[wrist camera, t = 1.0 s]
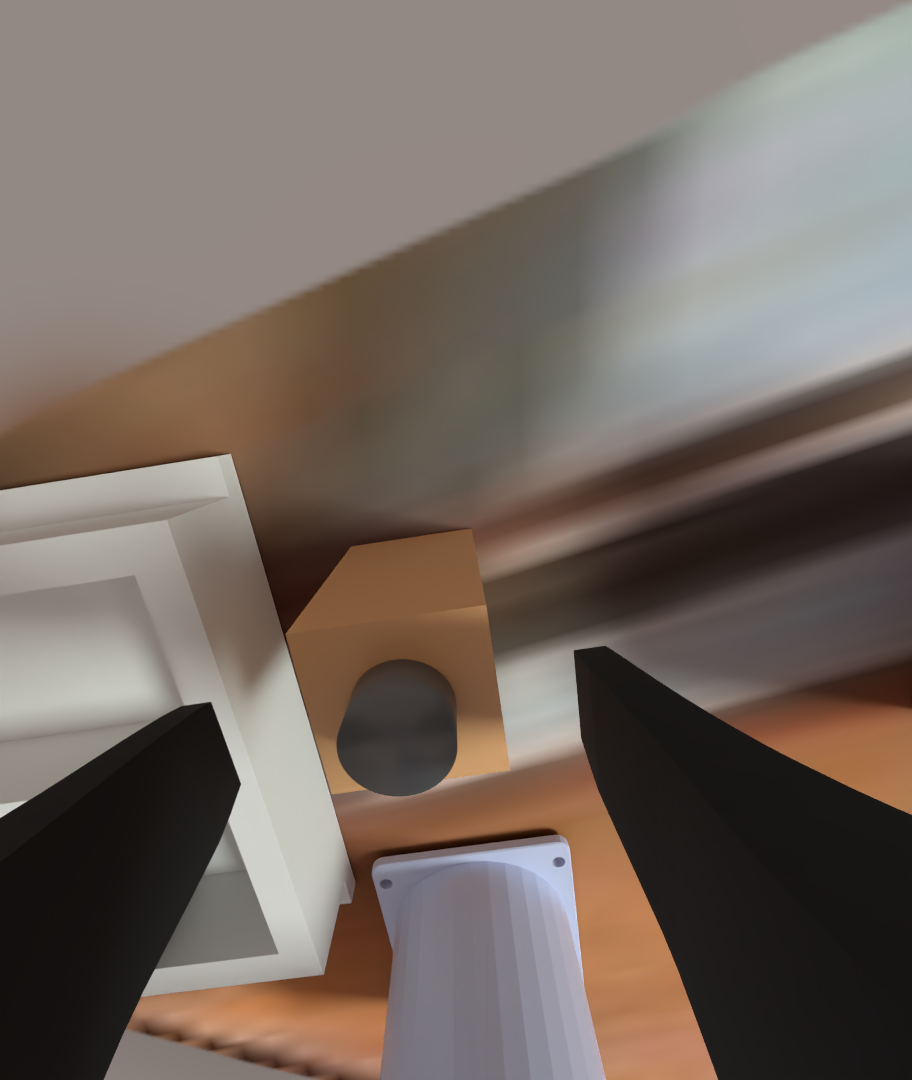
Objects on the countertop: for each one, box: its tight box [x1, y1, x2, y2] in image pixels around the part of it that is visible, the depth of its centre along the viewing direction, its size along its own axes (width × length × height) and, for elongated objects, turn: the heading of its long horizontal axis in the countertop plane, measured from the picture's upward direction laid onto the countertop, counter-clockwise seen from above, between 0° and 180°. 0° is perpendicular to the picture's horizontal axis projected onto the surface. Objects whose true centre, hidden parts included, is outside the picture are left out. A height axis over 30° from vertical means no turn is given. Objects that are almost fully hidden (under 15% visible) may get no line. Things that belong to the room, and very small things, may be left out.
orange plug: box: [285, 528, 510, 796], centre depth 11 cm, size 4×4×7 cm
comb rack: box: [0, 454, 356, 997], centre depth 14 cm, size 18×14×4 cm
